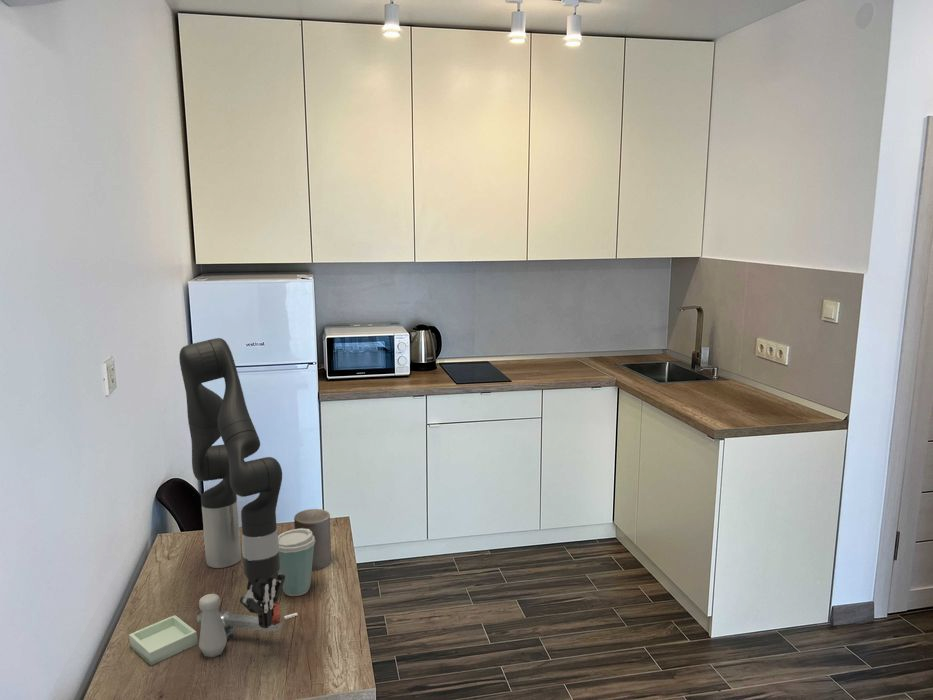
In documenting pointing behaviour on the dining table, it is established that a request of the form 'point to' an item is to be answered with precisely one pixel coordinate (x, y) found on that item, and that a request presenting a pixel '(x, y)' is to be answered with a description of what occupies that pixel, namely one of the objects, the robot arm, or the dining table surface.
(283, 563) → the disposable coffee cup
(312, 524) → the pillar candle
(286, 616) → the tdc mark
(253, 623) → the crank
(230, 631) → the crank base
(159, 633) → the tray
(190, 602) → the dining table surface
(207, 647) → the salt shaker
